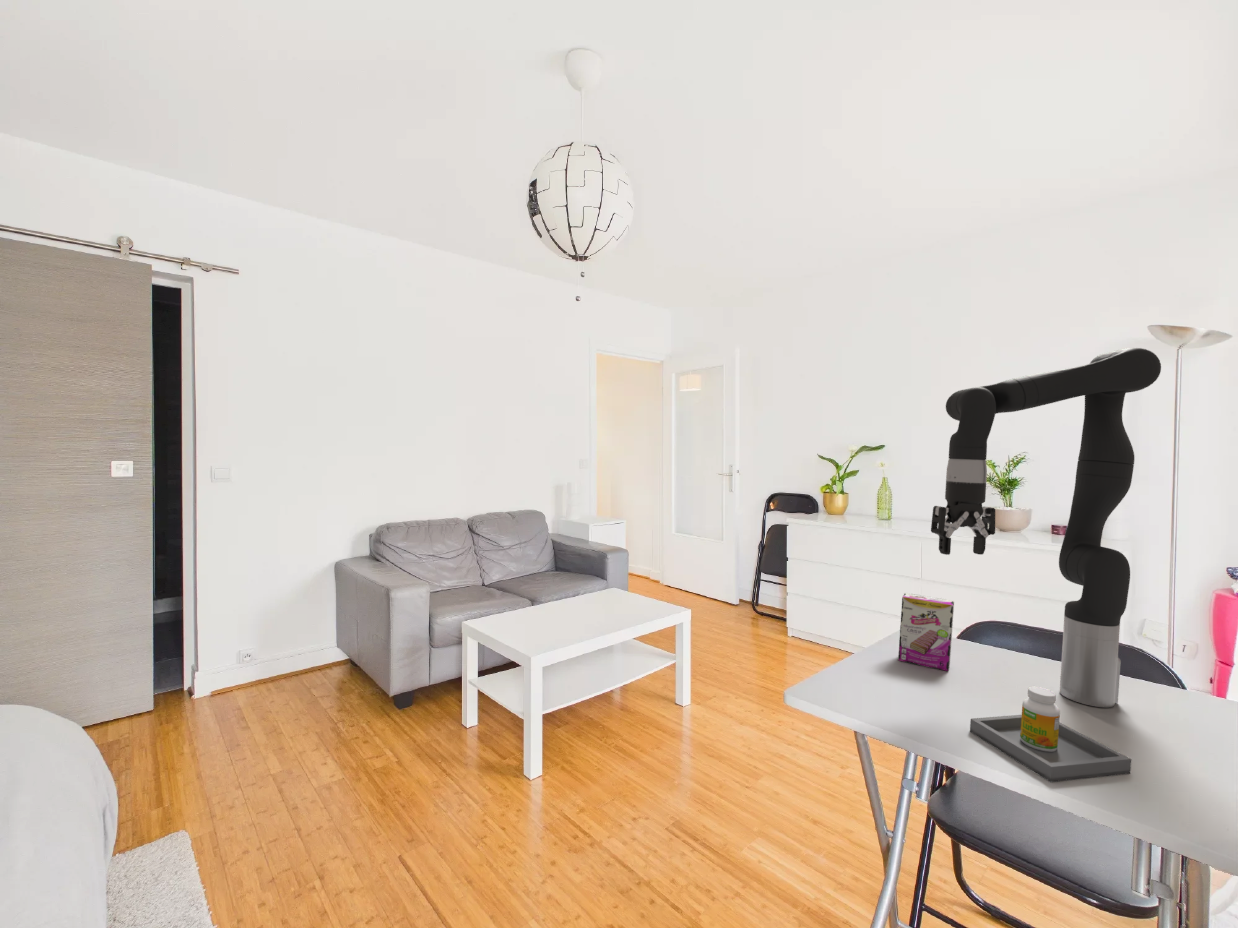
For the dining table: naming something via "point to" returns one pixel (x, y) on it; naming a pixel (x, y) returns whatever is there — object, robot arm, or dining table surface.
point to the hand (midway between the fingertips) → (961, 553)
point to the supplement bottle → (1040, 720)
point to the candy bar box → (926, 631)
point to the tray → (1066, 763)
